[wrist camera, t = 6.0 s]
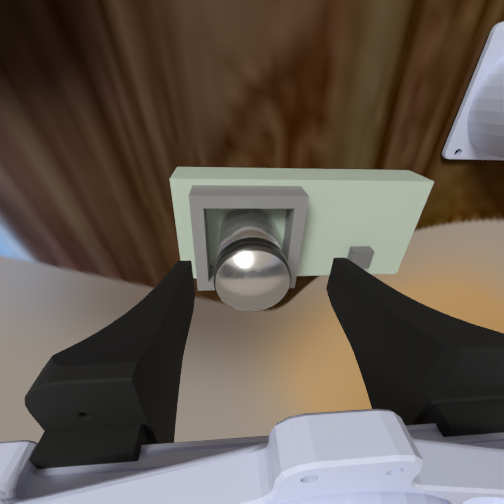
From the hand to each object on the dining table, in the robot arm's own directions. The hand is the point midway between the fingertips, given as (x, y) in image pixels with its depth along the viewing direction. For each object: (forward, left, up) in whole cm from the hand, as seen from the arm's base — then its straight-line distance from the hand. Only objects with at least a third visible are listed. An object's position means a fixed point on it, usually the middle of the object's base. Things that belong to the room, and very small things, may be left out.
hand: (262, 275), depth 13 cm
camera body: (-4, +1, -9) cm, 10 cm away
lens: (0, +1, -6) cm, 6 cm away
